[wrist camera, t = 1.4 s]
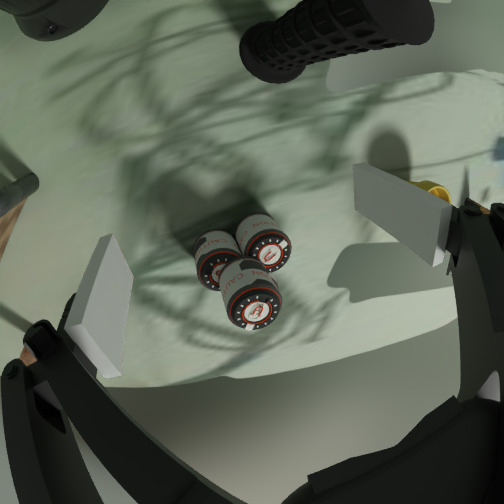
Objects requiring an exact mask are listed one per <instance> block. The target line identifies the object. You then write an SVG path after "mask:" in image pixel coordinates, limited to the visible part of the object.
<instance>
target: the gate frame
mask: <svg viewBox="0 0 504 504" xmlns="http://www.w3.org/2000/svg"><path fill="white" fill-rule="evenodd" d="M38 187H39V179H38V177H37V176H36V175H35V174H33V173H29V174H27V175H25V176H24V177H22V178H20V179H18V180H17V181H15V182H13V183H11V184H10V185H8V186H6V187H5V188H3V189H1V190H0V218H1V217H2V216H4V215H5V214H6V213H7V212H9V211H10V210H11V209H12V208H14V207H15V206H16V205H18V204H19V203H20V202H22V201H23V200H24V199H26V198H27V197H28V196H30V195H31V194H33V193H34V192H35V191H37V189H38ZM19 359H20V360H22V361H23V363H24V364H25V365H26V366H28V365H30V364H32V363H34V362H35V361H37V360H36V359H35V358H34V357H33V355H32V354H31V353H30V352H29V351H28V350H27V348H26V347H25V346H24V348H23V350H22V353H21V355H20V358H19Z"/></svg>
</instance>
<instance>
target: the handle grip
mask: <svg viewBox="0 0 504 504" xmlns="http://www.w3.org/2000/svg"><path fill="white" fill-rule="evenodd" d="M433 31H434V14H433V10H432V7H431V4H430V1H429V0H303V1H301V2H299V3H298V4H297V5H296V6H295V7H294V8H292V9H290V10H288V11H287V12H286V13H285V14H284V15H283V16H281V17H280V18H278V19H277V20H276V21H266V22H261V23H258V24H256V25H254V26H252V27H251V28H249V29H248V30H247V31H246V32H245V34H244V35H243V37H242V39H241V42H240V46H239V47H240V57H241V60H242V62H243V64H244V66H245V67H246V69H247V70H248V71H249V72H250V73H251V74H252V75H253V76H255V77H257V78H258V79H260V80H262V81H265V82H269V83H277V84H279V83H287V82H289V81H291V80H294V79H295V78H296V77H298V76H299V75H300V74H301V73H302V72H303V70H304V69H305V67H306V65H310V64H313V63H315V62H321V61H325V60H329V59H330V58H337V57H341V56H346V55H348V54H357V53H360V52H367V51H369V50H381V49H384V48H392V47H395V46H400V45H405V44H410V45H421V44H423V43H425V42H427V41H428V40H429V39H430V38H431V36H432V33H433Z"/></svg>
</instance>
